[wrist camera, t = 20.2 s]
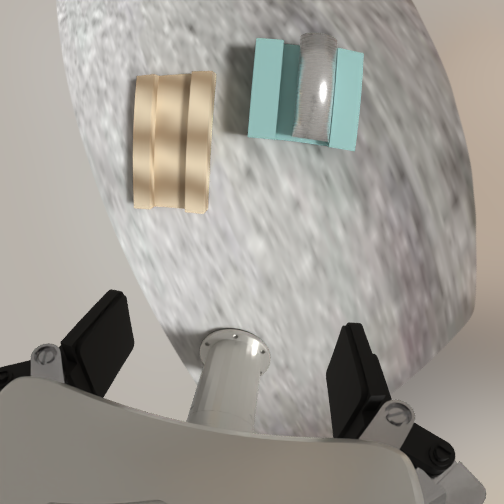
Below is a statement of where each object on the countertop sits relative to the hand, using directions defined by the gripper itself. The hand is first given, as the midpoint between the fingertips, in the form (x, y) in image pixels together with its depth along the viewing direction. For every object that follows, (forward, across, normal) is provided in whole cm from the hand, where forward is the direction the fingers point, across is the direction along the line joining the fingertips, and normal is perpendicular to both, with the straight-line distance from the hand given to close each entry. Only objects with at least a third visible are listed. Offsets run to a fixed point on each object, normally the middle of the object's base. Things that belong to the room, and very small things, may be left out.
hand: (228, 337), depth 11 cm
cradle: (+26, -4, -14) cm, 30 cm away
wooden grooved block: (+27, +12, -7) cm, 30 cm away
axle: (+24, -4, -14) cm, 28 cm away
